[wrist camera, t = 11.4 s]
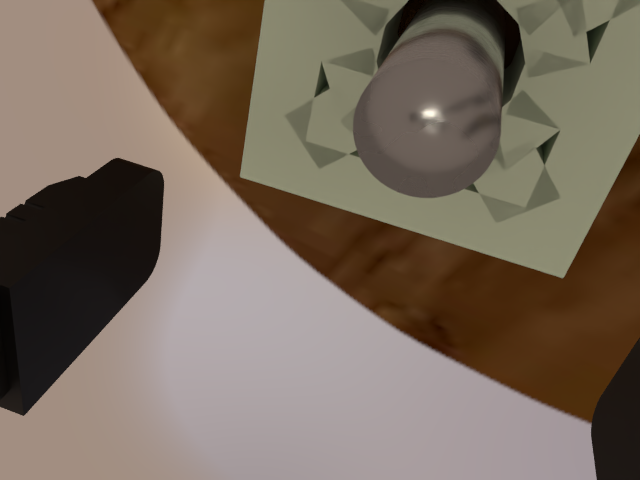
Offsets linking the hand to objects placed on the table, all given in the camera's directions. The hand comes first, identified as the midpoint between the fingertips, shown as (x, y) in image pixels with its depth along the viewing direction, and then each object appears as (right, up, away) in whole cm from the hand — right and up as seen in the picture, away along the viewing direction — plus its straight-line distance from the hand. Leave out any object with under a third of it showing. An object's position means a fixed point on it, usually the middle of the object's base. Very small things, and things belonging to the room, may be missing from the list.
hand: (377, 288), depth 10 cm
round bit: (+5, +10, +16) cm, 19 cm away
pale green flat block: (+5, +10, +16) cm, 19 cm away
